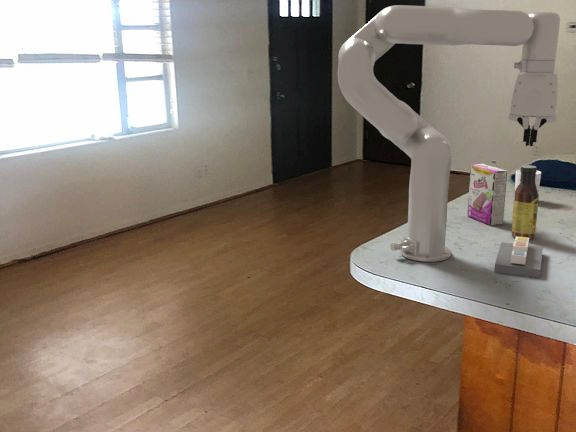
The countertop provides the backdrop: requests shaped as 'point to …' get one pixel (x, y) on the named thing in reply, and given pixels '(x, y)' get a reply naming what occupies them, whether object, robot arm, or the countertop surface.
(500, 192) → the candy bar box
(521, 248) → the key terracotta
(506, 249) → the keypad board
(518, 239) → the key mustard
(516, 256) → the key blue
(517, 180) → the white cup
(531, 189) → the sauce bottle
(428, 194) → the robot arm
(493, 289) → the countertop surface
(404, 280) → the countertop surface
